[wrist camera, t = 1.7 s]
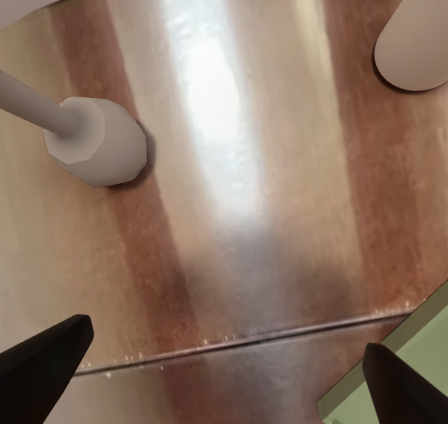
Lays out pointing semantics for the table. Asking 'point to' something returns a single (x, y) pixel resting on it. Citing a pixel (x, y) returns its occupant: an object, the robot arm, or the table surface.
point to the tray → (405, 349)
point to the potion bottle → (81, 133)
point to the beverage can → (415, 45)
